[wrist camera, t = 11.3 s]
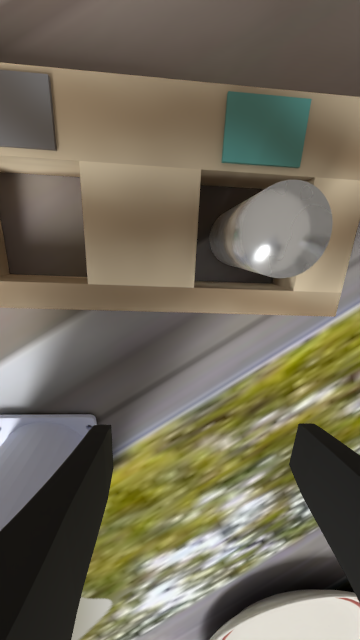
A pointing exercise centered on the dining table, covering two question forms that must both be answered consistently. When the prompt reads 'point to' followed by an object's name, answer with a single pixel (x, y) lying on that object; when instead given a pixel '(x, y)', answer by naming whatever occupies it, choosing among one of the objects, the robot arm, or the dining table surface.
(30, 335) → the dining table surface
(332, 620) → the dinner plate
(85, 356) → the dining table surface
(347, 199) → the socket block
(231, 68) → the dining table surface
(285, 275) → the steel peg
